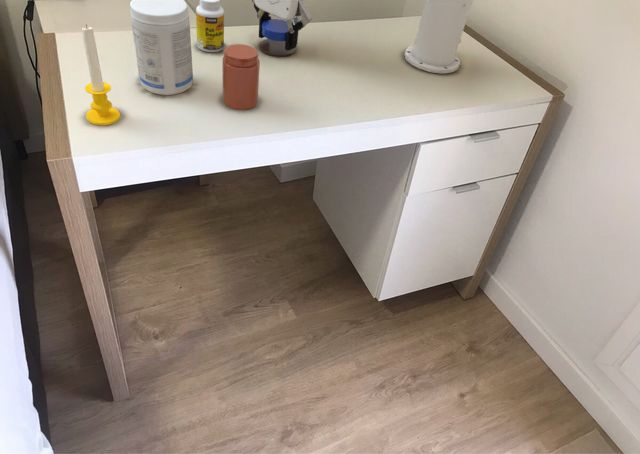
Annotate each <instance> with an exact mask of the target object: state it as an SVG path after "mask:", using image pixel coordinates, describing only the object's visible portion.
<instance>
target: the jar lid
mask: <svg viewBox="0 0 640 454" xmlns="http://www.w3.org/2000/svg"><path fill="white" fill-rule="evenodd" d="M288 31H289V29H288V25H287V21H286V20H284V19H281V18H271V19H270V20H266V21H264V22H263V23H262V35H263V36H264V38H266V39H270V40H274V41H286V33H287V32H288Z"/></svg>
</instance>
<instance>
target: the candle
mask: <svg viewBox="0 0 640 454" xmlns="http://www.w3.org/2000/svg"><path fill="white" fill-rule="evenodd" d="M81 33H82V40H83V45H84V50H85V57H86V61H87V67H88V72H89V77H90V83H88V84H86V85H85V87H84V91H86V92H87V93H88V94H91V95H92V100H93V101H91V102H90V109H89V110H88V111H87V112H86V114H85V116H86V117H85V118H86V120H87V122H89V123H90V124H93V125H95V126H109V125H113V124H115V123H117V122H118V121H119V120H120V118H121V113H120V111H119V110H118V109H117V108H115V107H114V106H113V103H112V101H110V100H109V99H108V95H107V94H108V93H109V92H110V91H111V90H112V86H111V84H109V83H108V82H104V79H103V76H102V70H101V64H100V59H99V53H98V48H97V43H96V37H95V34H94V30H93V27H91V26H88V25H87V24H85V27H82V28H81Z"/></svg>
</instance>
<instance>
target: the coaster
mask: <svg viewBox="0 0 640 454" xmlns="http://www.w3.org/2000/svg"><path fill="white" fill-rule="evenodd" d="M285 42H286V41H274V40H270V39H268V38H266V39H262V40H261V41H259V43H258V51H260V52H261V53H262V54H264V55H267V56H269V57H274V58H287V57H291V56H292V55H294V54H295V52H296V48H294V49H291V50H289V51H287V50H285Z"/></svg>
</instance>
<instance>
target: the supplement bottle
mask: <svg viewBox="0 0 640 454" xmlns="http://www.w3.org/2000/svg"><path fill="white" fill-rule="evenodd" d="M195 8H196V9H195V20H196V21H195V22H196V24H195V25H196V46H197V48H198V49H200V50H201V51H203V52H207V53H217V52H220V51H222V50H223V49H224V48H225V47H224V46H225V10H224V8H223V7H222V6H221V0H199V4H198V5H197V6H196V7H195Z"/></svg>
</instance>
